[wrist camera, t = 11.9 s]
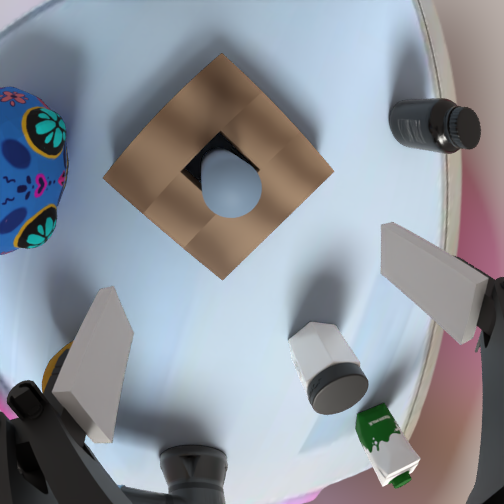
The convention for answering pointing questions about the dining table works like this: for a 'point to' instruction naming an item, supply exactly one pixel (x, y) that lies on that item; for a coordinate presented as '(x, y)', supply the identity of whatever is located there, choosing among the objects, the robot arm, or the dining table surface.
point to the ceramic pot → (29, 169)
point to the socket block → (193, 141)
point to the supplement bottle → (435, 125)
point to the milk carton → (386, 446)
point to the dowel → (229, 183)
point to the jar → (327, 368)
